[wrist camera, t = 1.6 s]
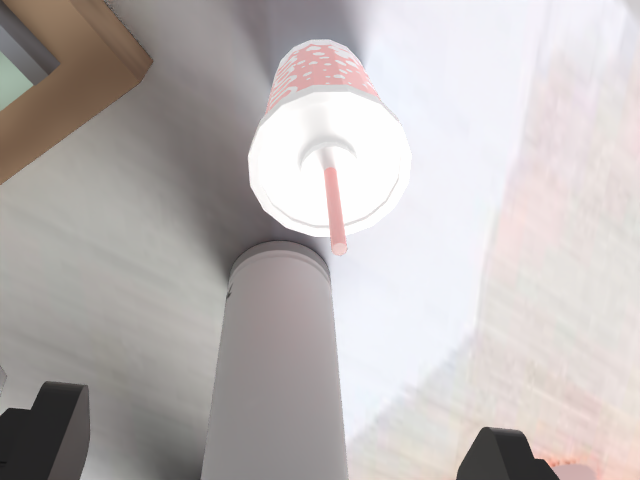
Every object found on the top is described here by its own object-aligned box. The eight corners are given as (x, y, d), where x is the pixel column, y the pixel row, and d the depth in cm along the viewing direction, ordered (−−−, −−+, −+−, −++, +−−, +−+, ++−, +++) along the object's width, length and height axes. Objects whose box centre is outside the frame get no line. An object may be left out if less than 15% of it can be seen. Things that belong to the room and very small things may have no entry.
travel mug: (204, 273, 35) (128, 652, 19) (290, 220, 33) (291, 592, 17) (266, 333, 38) (248, 703, 22) (349, 287, 36) (397, 656, 20)
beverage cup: (338, -5, 26) (376, 115, 15) (402, 100, 29) (474, 268, 18) (233, 69, 28) (193, 228, 17) (303, 161, 31) (311, 350, 20)
